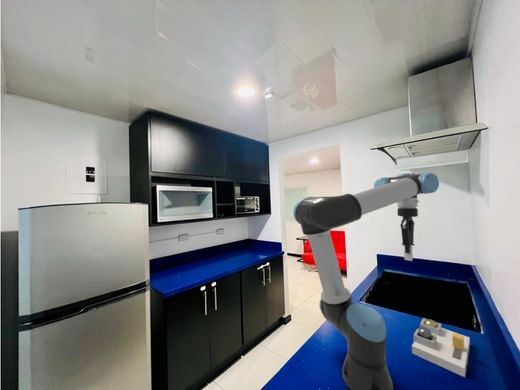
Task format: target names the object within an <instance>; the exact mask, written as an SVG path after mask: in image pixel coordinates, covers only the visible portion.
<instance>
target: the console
mask: <svg viewBox="0 0 520 390" xmlns="http://www.w3.org/2000/svg"><path fill="white" fill-rule="evenodd" d="M425 319H426V318H425V317H423V318H422V319H421V321H420V325H419V327H425V328H428V329H429V330H431V340H428V339H425V338H422V337H420V336H419V328H416V331H415V332H414V334H413V343H412V345H411V353H412V355H415V356H418V357H420V358H421V359H424V360H426V361H427V362H431V363H433V364H434V365H437V366H438V367H442V368H443V369H446V370H448V371H450V372H452V373H454V374H457V375H459V376H461V377H464V378H466V373H467V367H466V366H468V361H469V354H468V353H470V347H469V346H471V340H470V337H469V336H467V335H464V334H460V333H458V332H455V331H451V330H449V329H446V328H443V327H442V323H439V322H436V321H435V322H436V323H437V328H434V327H431V326H429V325H426V324H425ZM453 333H455V334H458V335H461V336H464V350H461V349H458V348H456V347H453V338H452V336H453Z"/></svg>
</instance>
